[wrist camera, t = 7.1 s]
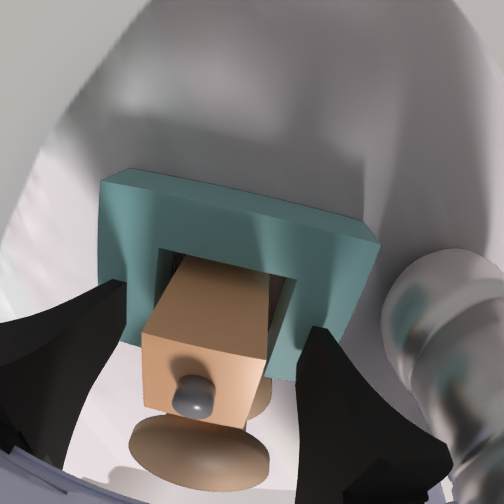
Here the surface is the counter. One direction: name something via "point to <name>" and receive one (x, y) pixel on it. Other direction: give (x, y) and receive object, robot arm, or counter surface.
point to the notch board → (233, 253)
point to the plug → (207, 342)
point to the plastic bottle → (454, 361)
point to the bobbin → (203, 449)
